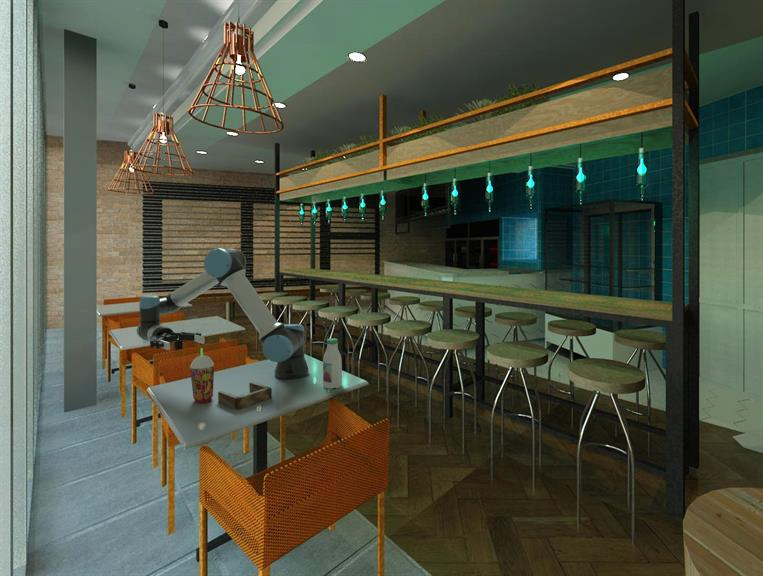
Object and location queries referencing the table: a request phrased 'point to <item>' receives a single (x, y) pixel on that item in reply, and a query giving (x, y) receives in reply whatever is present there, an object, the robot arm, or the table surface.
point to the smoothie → (202, 378)
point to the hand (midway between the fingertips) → (187, 343)
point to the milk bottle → (332, 365)
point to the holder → (246, 396)
